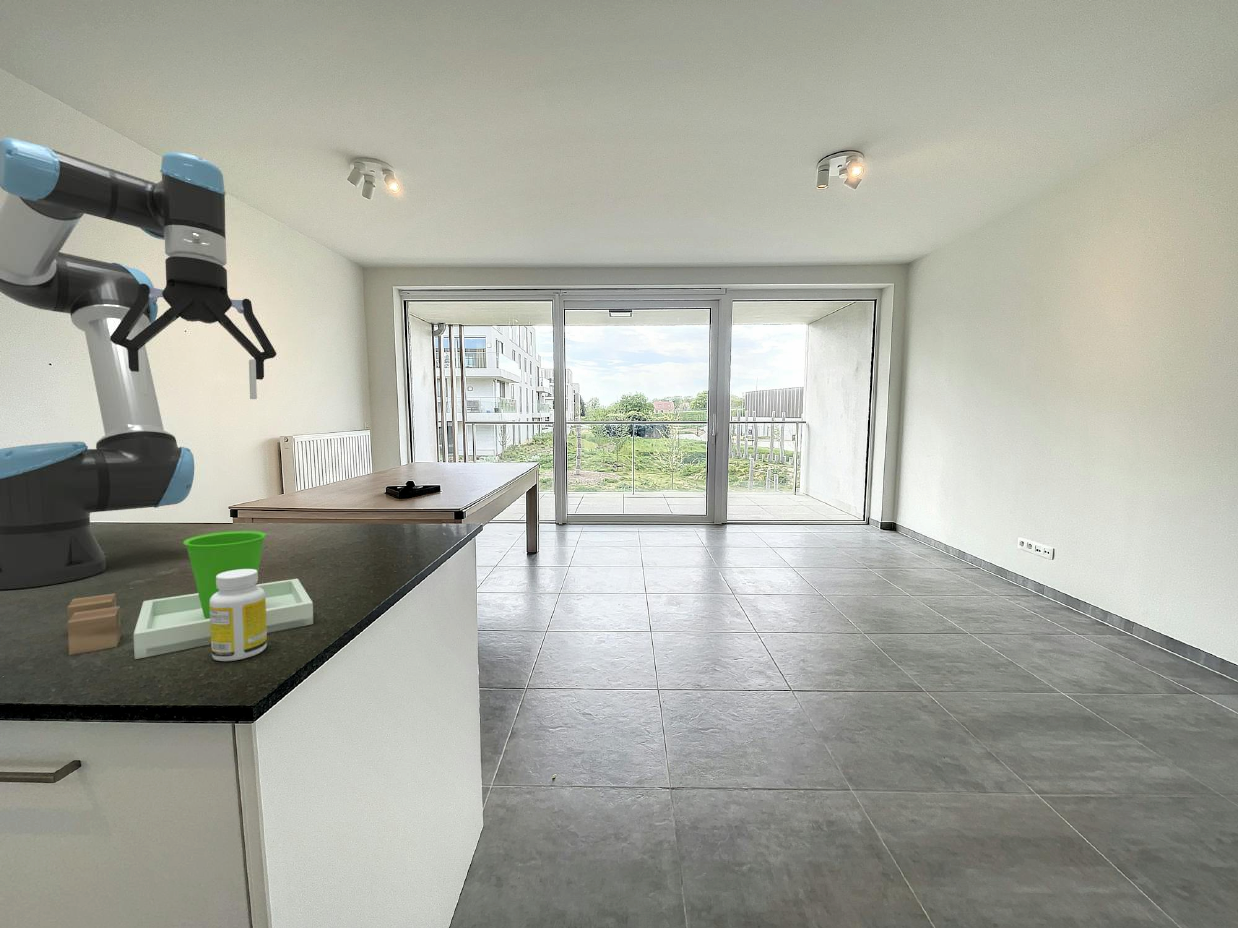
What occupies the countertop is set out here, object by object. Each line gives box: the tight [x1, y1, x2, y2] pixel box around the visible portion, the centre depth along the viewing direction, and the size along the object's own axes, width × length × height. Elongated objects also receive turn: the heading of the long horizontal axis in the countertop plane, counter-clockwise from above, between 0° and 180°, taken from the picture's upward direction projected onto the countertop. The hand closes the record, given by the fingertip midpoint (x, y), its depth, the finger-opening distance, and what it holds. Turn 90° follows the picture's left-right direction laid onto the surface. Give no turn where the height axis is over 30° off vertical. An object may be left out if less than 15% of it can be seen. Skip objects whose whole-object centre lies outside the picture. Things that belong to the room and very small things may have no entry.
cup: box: [182, 530, 267, 619], centre depth 70 cm, size 9×9×11 cm
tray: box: [133, 578, 314, 660], centre depth 70 cm, size 14×18×3 cm
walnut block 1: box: [66, 592, 117, 622], centre depth 67 cm, size 4×4×4 cm
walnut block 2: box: [67, 605, 122, 656], centre depth 62 cm, size 4×4×4 cm
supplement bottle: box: [209, 569, 268, 662], centre depth 61 cm, size 5×5×10 cm
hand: (201, 396), depth 82 cm, fingers open, 13 cm apart
